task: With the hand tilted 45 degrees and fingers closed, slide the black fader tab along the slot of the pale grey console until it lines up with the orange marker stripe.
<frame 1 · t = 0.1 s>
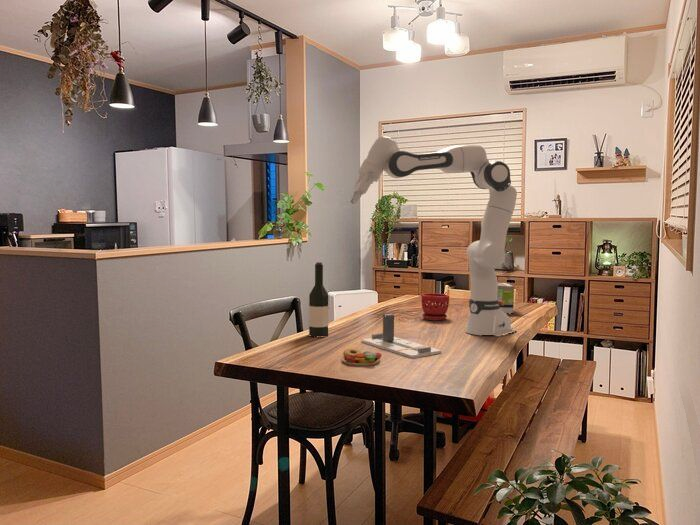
hand: (353, 202, 228), 54 cm above the table, tool tilted 30°, fingers open, 8 cm apart
wine bottle: (318, 335, 229), on the table
plant pot: (434, 319, 269), on the table
toy food set: (361, 362, 189), on the table
tea box: (500, 312, 291), on the table
console: (399, 347, 210), on the table
fader tab: (388, 327, 215), point 6 cm above the table, slide at 3.0 cm
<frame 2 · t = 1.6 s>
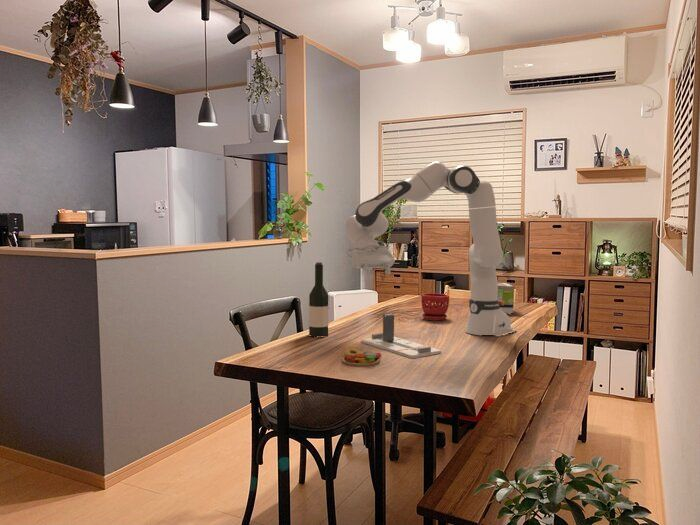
hand: (379, 274, 226), 26 cm above the table, tool tilted 45°, fingers open, 8 cm apart
nothing on the table moved.
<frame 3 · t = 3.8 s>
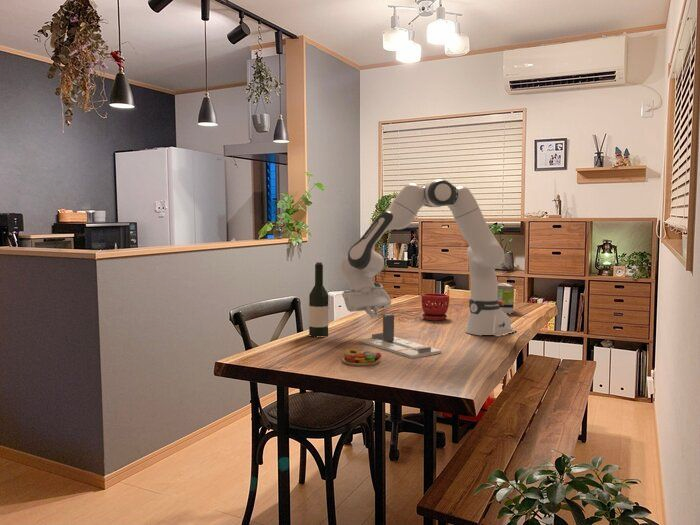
hand: (375, 317, 221), 9 cm above the table, tool tilted 45°, fingers closed
nothing on the table moved.
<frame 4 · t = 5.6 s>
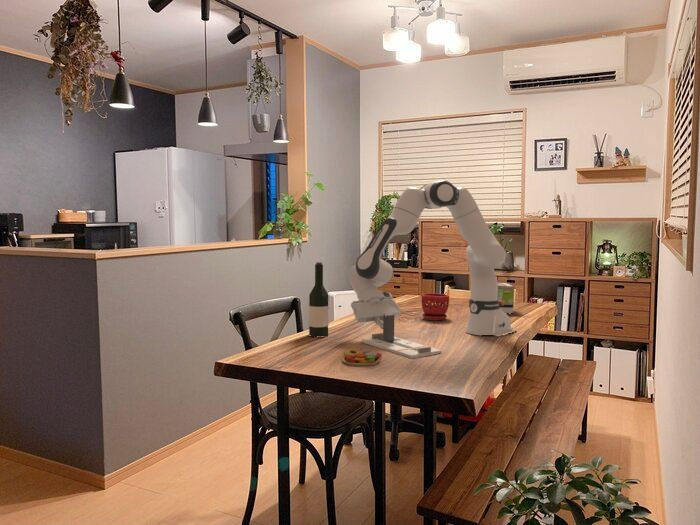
hand: (385, 328, 217), 6 cm above the table, tool tilted 45°, fingers closed, pressing on fader tab
fader tab: (388, 327, 215), point 6 cm above the table, slide at 3.2 cm, touching gripper
everything else where it was.
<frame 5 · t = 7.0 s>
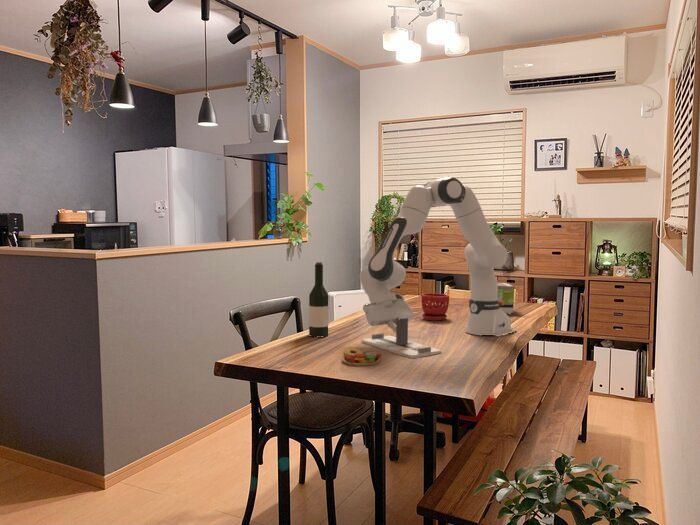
hand: (398, 331, 210), 6 cm above the table, tool tilted 45°, fingers closed, pressing on fader tab
fader tab: (402, 331, 208), point 6 cm above the table, slide at 11.1 cm, touching gripper
everything else where it was.
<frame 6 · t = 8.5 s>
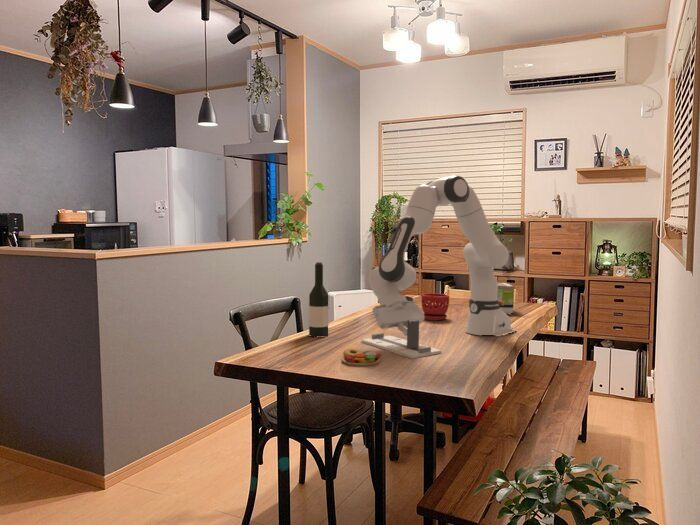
hand: (409, 334, 205), 6 cm above the table, tool tilted 45°, fingers closed, pressing on fader tab
fader tab: (413, 334, 203), point 6 cm above the table, slide at 17.4 cm, touching gripper
everything else where it was.
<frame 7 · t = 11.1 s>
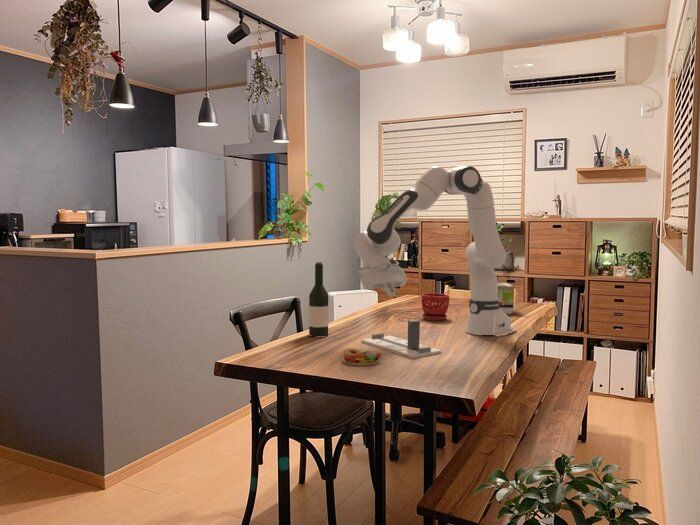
hand: (392, 294, 214), 19 cm above the table, tool tilted 45°, fingers closed
fader tab: (413, 334, 203), point 6 cm above the table, slide at 17.7 cm
everything else where it was.
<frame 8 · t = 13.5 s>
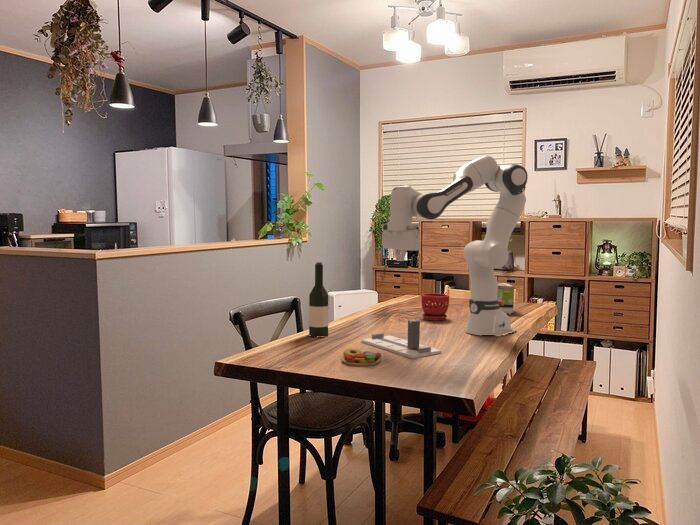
hand: (400, 260, 225), 31 cm above the table, tool pointing down, fingers closed
nothing on the table moved.
at the end: fader tab slide at 17.7 cm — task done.
